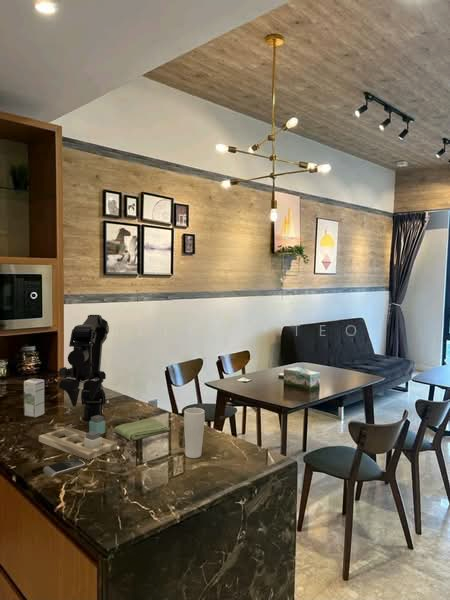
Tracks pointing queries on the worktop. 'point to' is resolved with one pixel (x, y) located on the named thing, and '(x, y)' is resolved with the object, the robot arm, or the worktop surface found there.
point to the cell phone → (63, 467)
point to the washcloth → (141, 429)
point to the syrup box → (33, 397)
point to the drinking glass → (193, 431)
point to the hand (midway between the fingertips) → (83, 402)
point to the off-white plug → (92, 440)
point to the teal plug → (97, 424)
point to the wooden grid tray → (75, 449)
